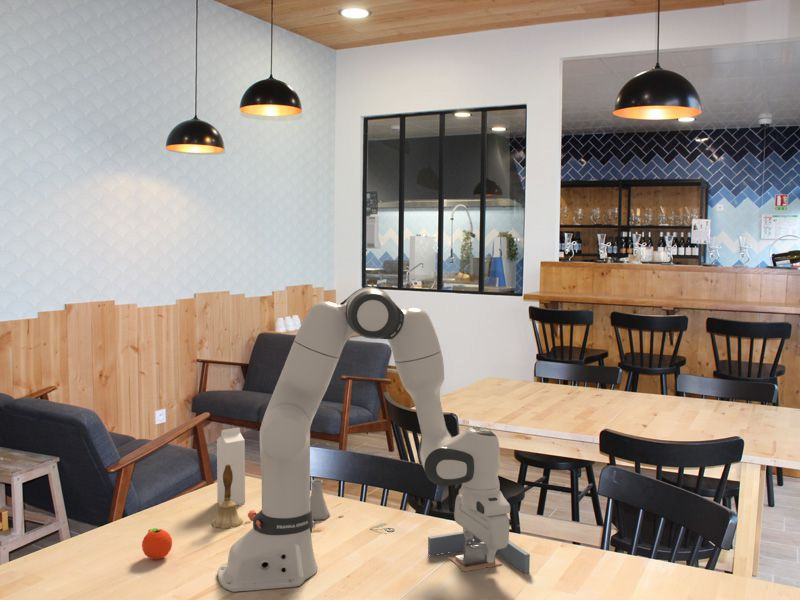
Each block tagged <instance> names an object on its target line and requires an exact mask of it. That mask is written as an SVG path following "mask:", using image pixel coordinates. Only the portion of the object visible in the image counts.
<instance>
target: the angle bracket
mask: <svg viewBox="0 0 800 600" xmlns="http://www.w3.org/2000/svg"><path fill="white" fill-rule="evenodd" d="M487 551H488V549H487V544H485V543H484V542H480V543H474V544H467V545H464V551H463V554H459V555H455V559H456V560H457V561H458V562H459V563H461V564H462V565H463V566H464V567H469V566H475V565H481V564H486V563H488V562H487V561H486V560H485V553H487ZM495 559H496V557H495V558H494V562H495Z"/></svg>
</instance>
